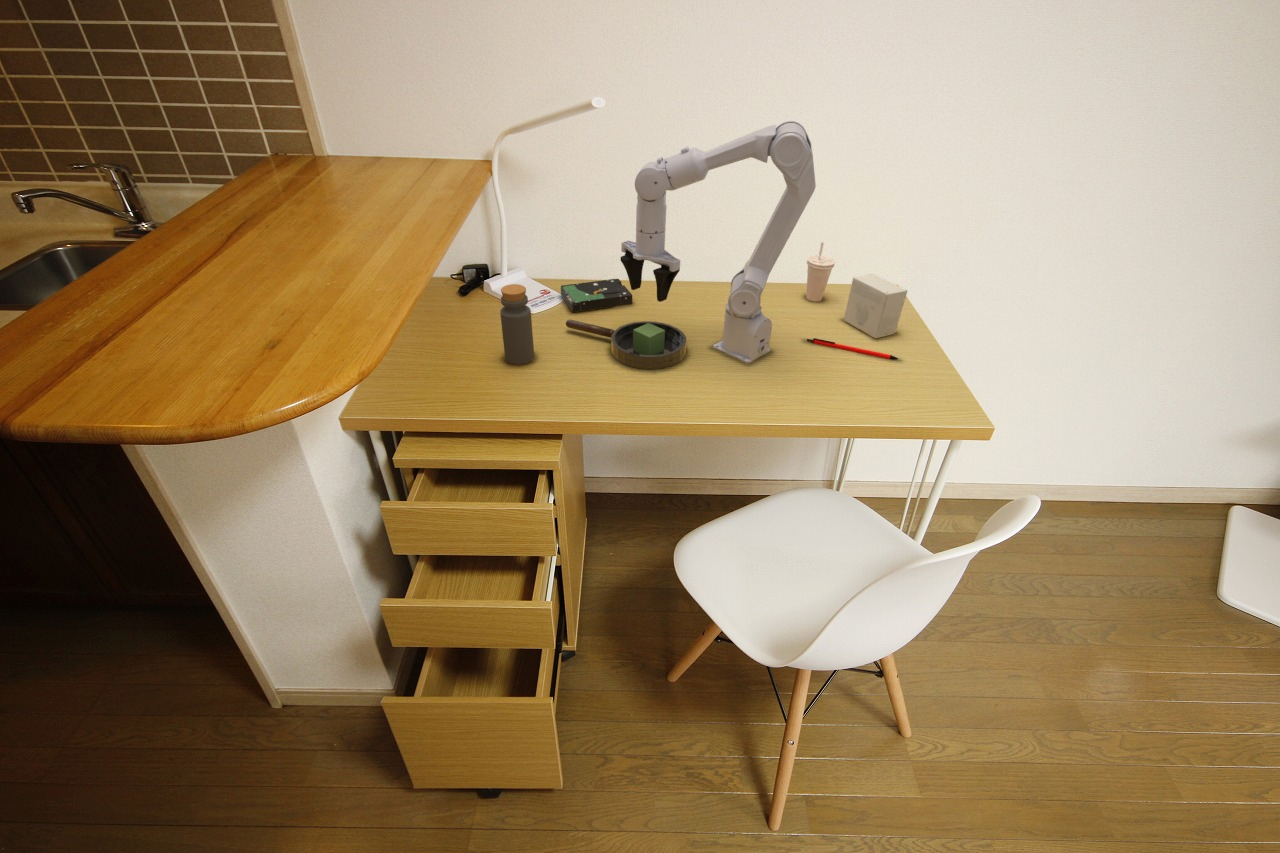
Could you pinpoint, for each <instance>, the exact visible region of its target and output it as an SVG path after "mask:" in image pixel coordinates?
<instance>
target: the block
mask: <svg viewBox="0 0 1280 853" xmlns="http://www.w3.org/2000/svg"><path fill="white" fill-rule="evenodd" d="M664 339H665V330H663V329H661V328H659V327H657V326H655V325H653V324H650V323H647V324H645V325H643V326H641V327H638V328H636V329H634V330H633V350H634V351H636V352H638V353H640V354H642V355H656V354H658V353H660V352H662V351H664Z"/></svg>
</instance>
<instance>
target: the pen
mask: <svg viewBox="0 0 1280 853" xmlns="http://www.w3.org/2000/svg"><path fill="white" fill-rule="evenodd" d="M806 341H807V342H811V343H812V344H816V345H820V346H824V347H829V348H834V349H838V350H842V351H843V350H844V351H848V352H853V353H858V354H863V355H868V356H873V357H878V358H881V359H887V360H899V358H898V357H896V356H894V355H892V354H888V353H883V352H880V351H879V352H878V351H873V350H868V349H863V348H859V347H854V346H849V345H844V344H839V343H836V342H835V341H831V340H826V339H821V338H815V337H814V338H812V339H810V338H807V339H806Z"/></svg>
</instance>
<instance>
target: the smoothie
mask: <svg viewBox="0 0 1280 853" xmlns="http://www.w3.org/2000/svg"><path fill="white" fill-rule="evenodd" d="M824 244H825V242H823V241H822V242H820V247H819V253H818V255H812V256H811V255H810V256H809V257H808V258H807V261H806V265H807V274H806V275H807V276H806V295H805V296H806V298H805V299H806V300H808V301H809V302H814V303H815V302H817V303H818V302H821V301H822V300H823V297H824V294H825V291H826V288H827V284H828V282H829V279H830V276H831V274H832V270H833V268H835V263H836V262H835V259H833V258H831V257H829V256H825V255H822V254H823V248H824Z"/></svg>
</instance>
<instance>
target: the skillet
mask: <svg viewBox="0 0 1280 853" xmlns="http://www.w3.org/2000/svg"><path fill="white" fill-rule="evenodd" d="M647 323H650V324H653V325H655V326H657V327H659V328H661V329H663V330H665V339H664V351H662V352H660V353H658V354H656V355H642V354H640V353H638V352H636V351H634V350H633V330H634V329H636V328H638V327H641V326H643V325H645V324H647ZM610 352H611V355H612V356H613V358H614V359H615V360H616V361H617V362H618V363H620V364H623V365H624V366H627V367H630V368H633V369H634V368H635V369H639V370H661V369H666V368H669V367H673V366H676V365H677V364H679V363H680V362H681V361H682V360H684V359H685V356H686V353H687V336H686V335H685V333H684V332H683V331H682V330H681V329H679V328H678V327H675V326H673V325H671V324H668V323H665V322H659V321H652V320H651V321H649V320H646V321H645V320H643V321H633V322H629V323H626V324H623V325H621V326H618V328H616V329H615V330H614V332H613V334H612V336H611V338H610Z"/></svg>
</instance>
